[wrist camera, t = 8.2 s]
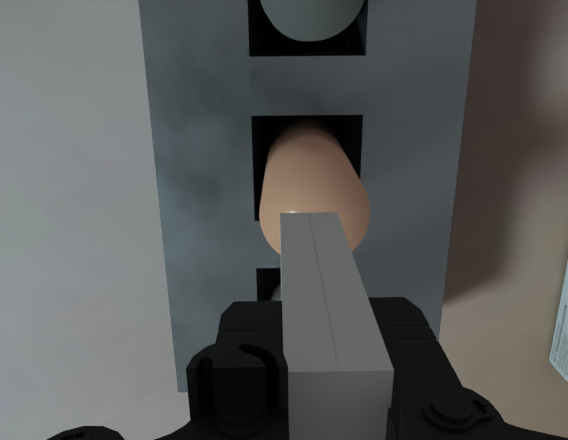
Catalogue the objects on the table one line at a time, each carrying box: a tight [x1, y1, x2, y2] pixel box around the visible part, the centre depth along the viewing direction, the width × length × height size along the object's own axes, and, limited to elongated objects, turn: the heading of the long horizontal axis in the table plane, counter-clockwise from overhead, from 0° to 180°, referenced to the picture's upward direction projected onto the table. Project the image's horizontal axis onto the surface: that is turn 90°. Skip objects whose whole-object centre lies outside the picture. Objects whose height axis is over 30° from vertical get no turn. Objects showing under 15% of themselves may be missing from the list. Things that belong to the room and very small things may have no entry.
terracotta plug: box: [259, 118, 370, 255], centre depth 21 cm, size 4×4×10 cm
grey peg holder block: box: [139, 0, 477, 392], centre depth 26 cm, size 14×25×7 cm, turn 1°
